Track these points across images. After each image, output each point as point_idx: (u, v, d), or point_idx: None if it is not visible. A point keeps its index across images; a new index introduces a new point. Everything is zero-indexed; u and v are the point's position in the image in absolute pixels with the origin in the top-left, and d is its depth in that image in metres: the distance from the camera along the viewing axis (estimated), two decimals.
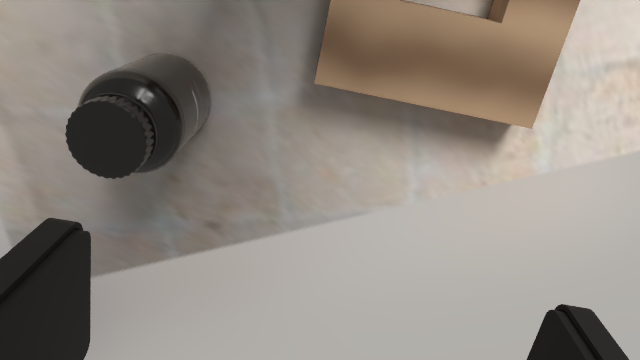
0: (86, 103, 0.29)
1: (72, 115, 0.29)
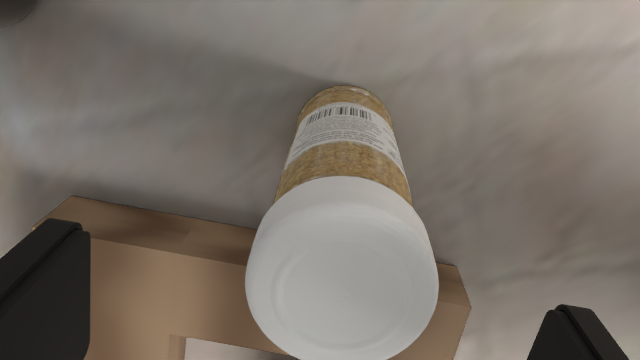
0: None
1: None
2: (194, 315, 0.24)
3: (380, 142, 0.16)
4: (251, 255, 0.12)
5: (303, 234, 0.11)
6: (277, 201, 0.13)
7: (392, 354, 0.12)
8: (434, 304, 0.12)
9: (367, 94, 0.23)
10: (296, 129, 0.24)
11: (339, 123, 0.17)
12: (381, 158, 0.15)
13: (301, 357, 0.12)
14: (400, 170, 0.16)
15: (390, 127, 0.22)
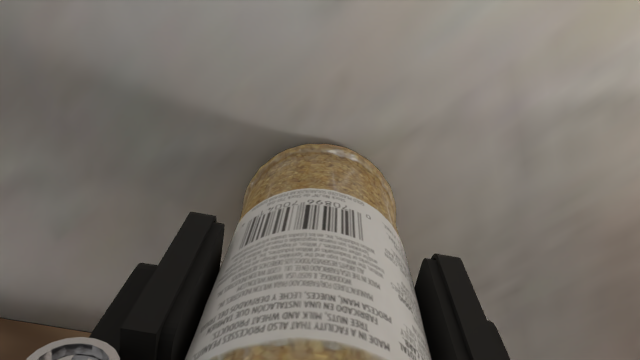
0: None
1: None
2: None
3: (383, 317, 0.08)
4: None
5: None
6: None
7: None
8: None
9: (355, 158, 0.14)
10: (242, 211, 0.15)
11: (298, 262, 0.09)
12: None
13: None
14: None
15: (393, 217, 0.13)
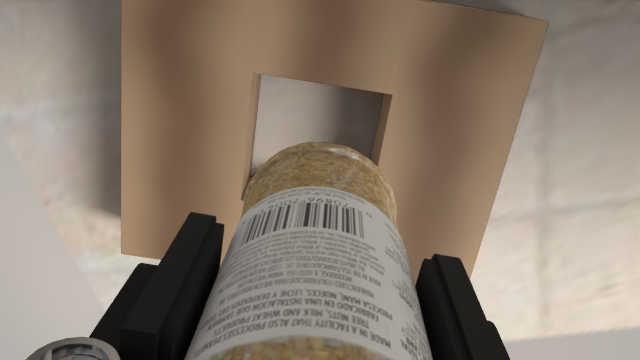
0: None
1: None
2: (278, 49, 0.25)
3: (384, 314, 0.08)
4: None
5: None
6: None
7: None
8: None
9: (355, 157, 0.14)
10: (243, 210, 0.15)
11: (299, 259, 0.09)
12: None
13: None
14: None
15: (394, 215, 0.13)
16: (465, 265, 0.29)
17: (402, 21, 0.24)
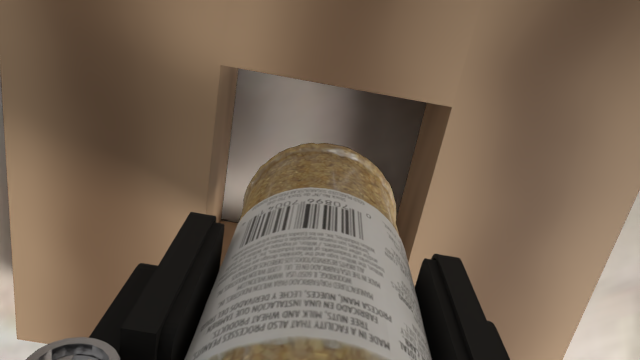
0: None
1: None
2: (263, 25, 0.15)
3: (383, 316, 0.08)
4: None
5: None
6: None
7: None
8: None
9: (355, 158, 0.14)
10: (243, 211, 0.15)
11: (299, 261, 0.09)
12: None
13: None
14: None
15: (393, 216, 0.13)
16: None
17: None
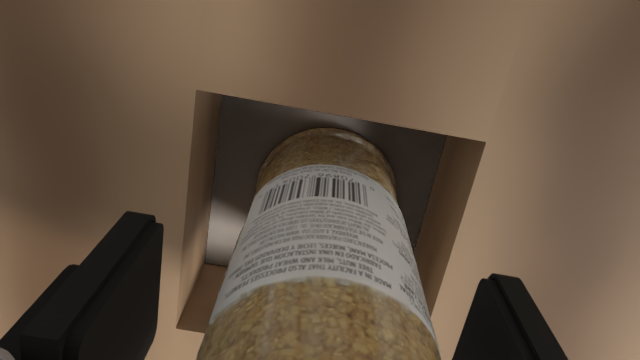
0: None
1: None
2: (249, 40, 0.12)
3: (385, 264, 0.09)
4: None
5: None
6: None
7: None
8: None
9: (359, 141, 0.15)
10: (256, 190, 0.16)
11: (312, 221, 0.10)
12: (391, 318, 0.08)
13: None
14: (424, 327, 0.08)
15: (394, 193, 0.15)
16: None
17: None
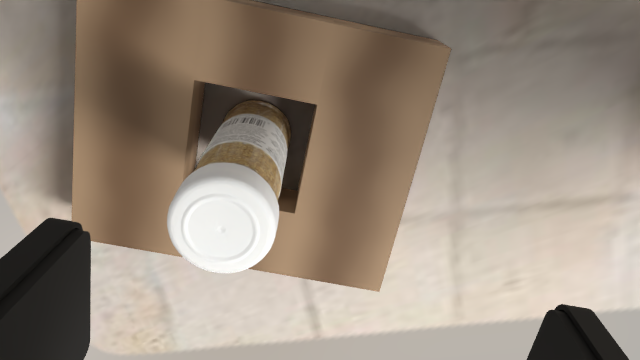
0: None
1: None
2: (216, 60, 0.28)
3: (262, 142, 0.26)
4: (169, 206, 0.21)
5: (197, 193, 0.20)
6: (187, 177, 0.22)
7: (252, 263, 0.22)
8: (273, 234, 0.21)
9: (271, 106, 0.32)
10: None
11: (238, 129, 0.27)
12: (259, 153, 0.24)
13: (200, 266, 0.22)
14: (272, 160, 0.25)
15: (285, 130, 0.31)
16: (381, 257, 0.33)
17: (325, 41, 0.28)
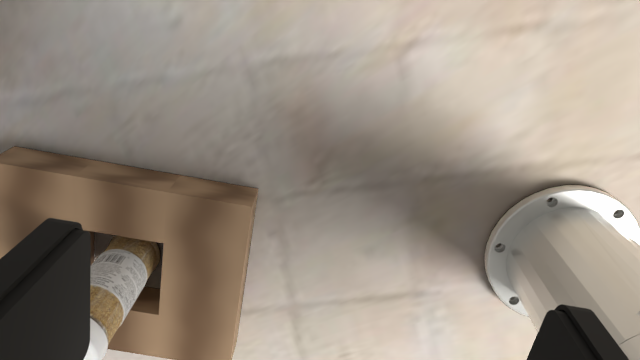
0: None
1: None
2: (88, 215, 0.40)
3: (111, 281, 0.37)
4: None
5: None
6: None
7: None
8: (95, 359, 0.33)
9: None
10: None
11: (98, 270, 0.38)
12: (102, 293, 0.36)
13: None
14: (115, 296, 0.37)
15: (149, 255, 0.43)
16: (226, 344, 0.44)
17: (162, 203, 0.39)
